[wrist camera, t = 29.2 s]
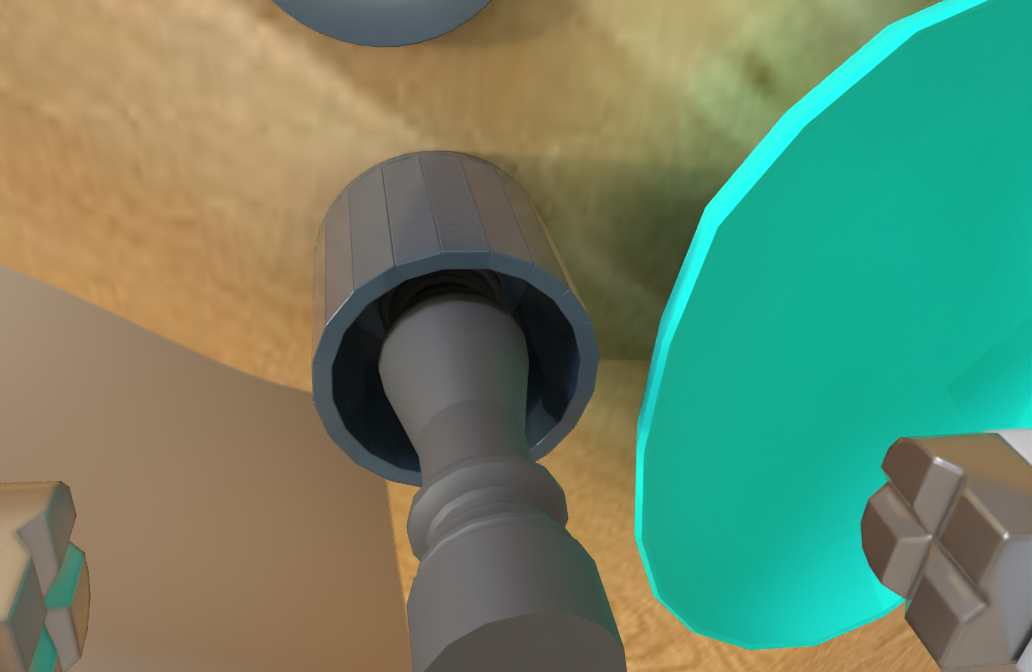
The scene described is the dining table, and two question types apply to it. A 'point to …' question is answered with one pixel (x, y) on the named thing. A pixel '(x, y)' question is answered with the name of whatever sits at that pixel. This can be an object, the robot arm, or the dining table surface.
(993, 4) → the table top decor
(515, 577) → the candle holder
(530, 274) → the crock
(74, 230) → the dining table surface
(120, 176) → the dining table surface
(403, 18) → the lid
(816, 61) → the dining table surface
